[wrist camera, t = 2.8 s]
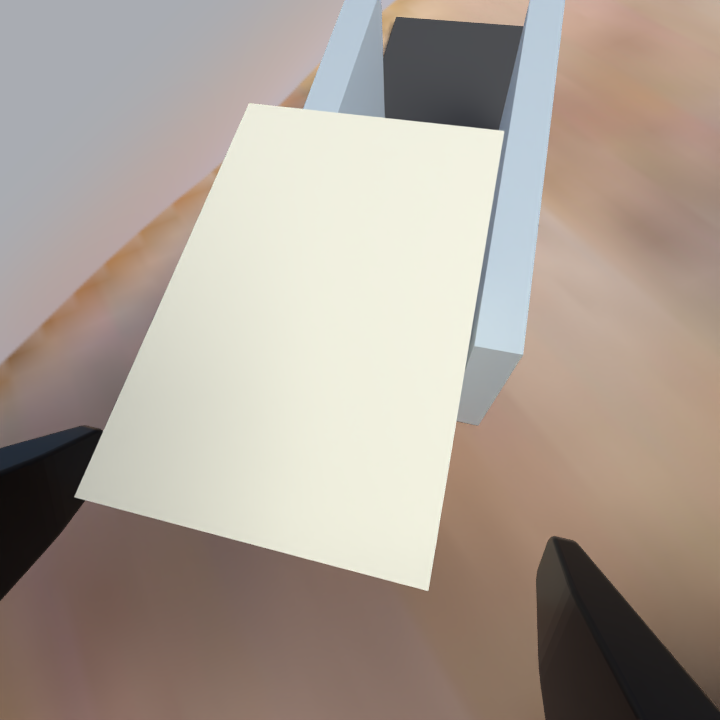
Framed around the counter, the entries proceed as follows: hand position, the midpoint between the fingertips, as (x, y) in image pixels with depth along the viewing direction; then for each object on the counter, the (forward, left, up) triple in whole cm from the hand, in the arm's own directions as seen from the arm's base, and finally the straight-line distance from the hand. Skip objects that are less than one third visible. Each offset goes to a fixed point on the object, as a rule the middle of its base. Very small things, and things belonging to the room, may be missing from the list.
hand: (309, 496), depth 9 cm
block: (+2, +1, -9) cm, 9 cm away
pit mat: (+21, +10, -9) cm, 25 cm away
